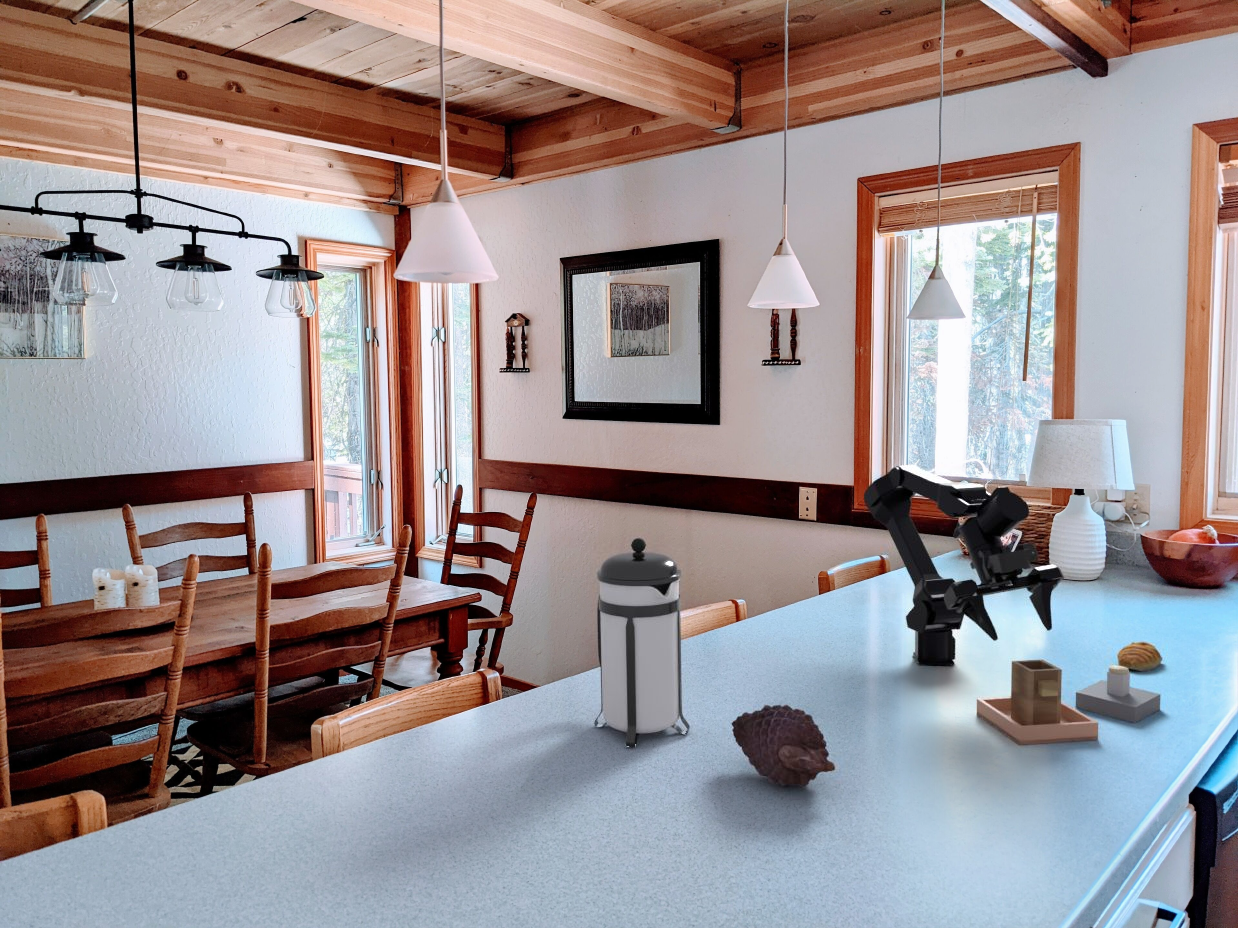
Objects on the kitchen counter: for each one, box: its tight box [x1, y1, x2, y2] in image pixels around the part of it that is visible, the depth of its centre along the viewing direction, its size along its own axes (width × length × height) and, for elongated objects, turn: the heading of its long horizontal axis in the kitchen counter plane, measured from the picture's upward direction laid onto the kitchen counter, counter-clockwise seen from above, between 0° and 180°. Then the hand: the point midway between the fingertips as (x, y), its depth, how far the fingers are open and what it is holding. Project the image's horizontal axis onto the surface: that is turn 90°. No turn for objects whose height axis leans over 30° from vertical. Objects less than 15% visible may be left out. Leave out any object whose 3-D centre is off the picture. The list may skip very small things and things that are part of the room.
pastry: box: [1116, 641, 1163, 672], centre depth 164 cm, size 9×7×4 cm
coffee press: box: [593, 537, 691, 748], centre depth 137 cm, size 17×16×30 cm
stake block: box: [1075, 664, 1161, 724], centre depth 142 cm, size 9×9×7 cm
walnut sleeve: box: [1010, 659, 1063, 726], centre depth 135 cm, size 6×5×9 cm
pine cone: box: [731, 704, 836, 787], centre depth 119 cm, size 18×10×10 cm, turn 34°
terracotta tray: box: [976, 696, 1099, 746], centre depth 136 cm, size 12×12×3 cm
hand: (1023, 634), depth 145 cm, fingers open, 9 cm apart
